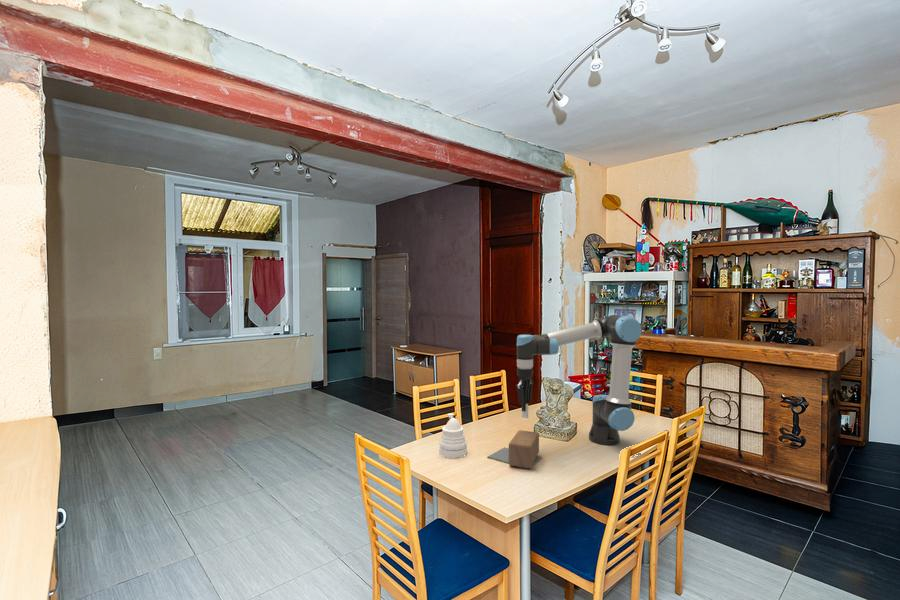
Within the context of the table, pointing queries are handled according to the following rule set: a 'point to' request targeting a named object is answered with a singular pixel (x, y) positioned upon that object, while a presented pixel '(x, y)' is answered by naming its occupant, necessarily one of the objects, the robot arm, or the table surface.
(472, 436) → the table surface
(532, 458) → the wooden block
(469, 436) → the table surface
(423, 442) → the table surface
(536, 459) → the mat
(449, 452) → the honey pot
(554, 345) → the robot arm
